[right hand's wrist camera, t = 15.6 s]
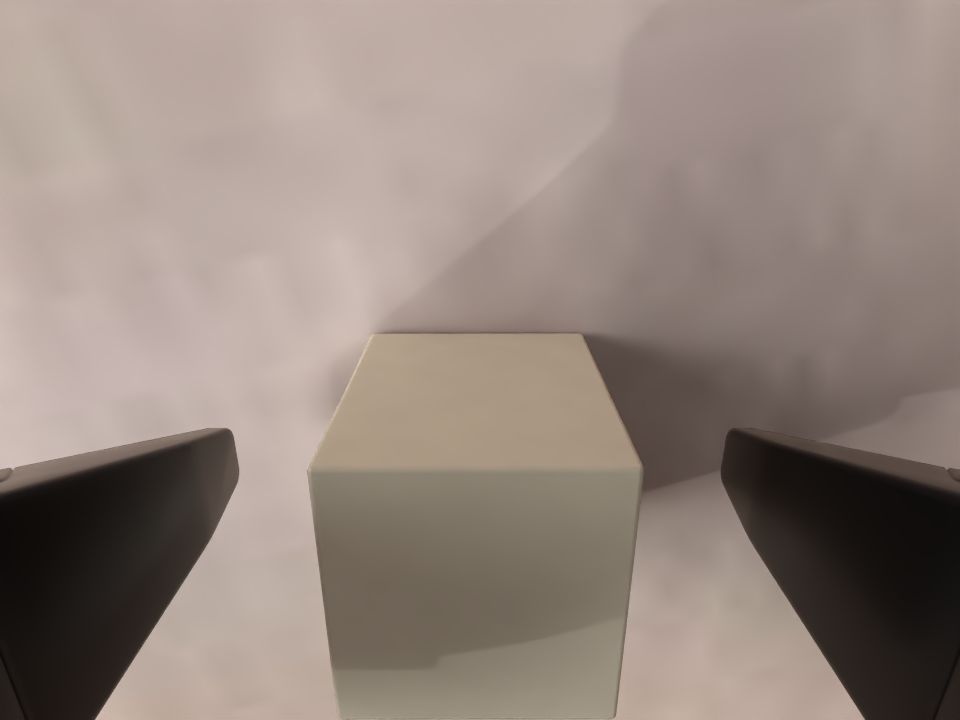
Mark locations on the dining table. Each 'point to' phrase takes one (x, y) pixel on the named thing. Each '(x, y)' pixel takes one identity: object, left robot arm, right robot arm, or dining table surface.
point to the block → (476, 530)
